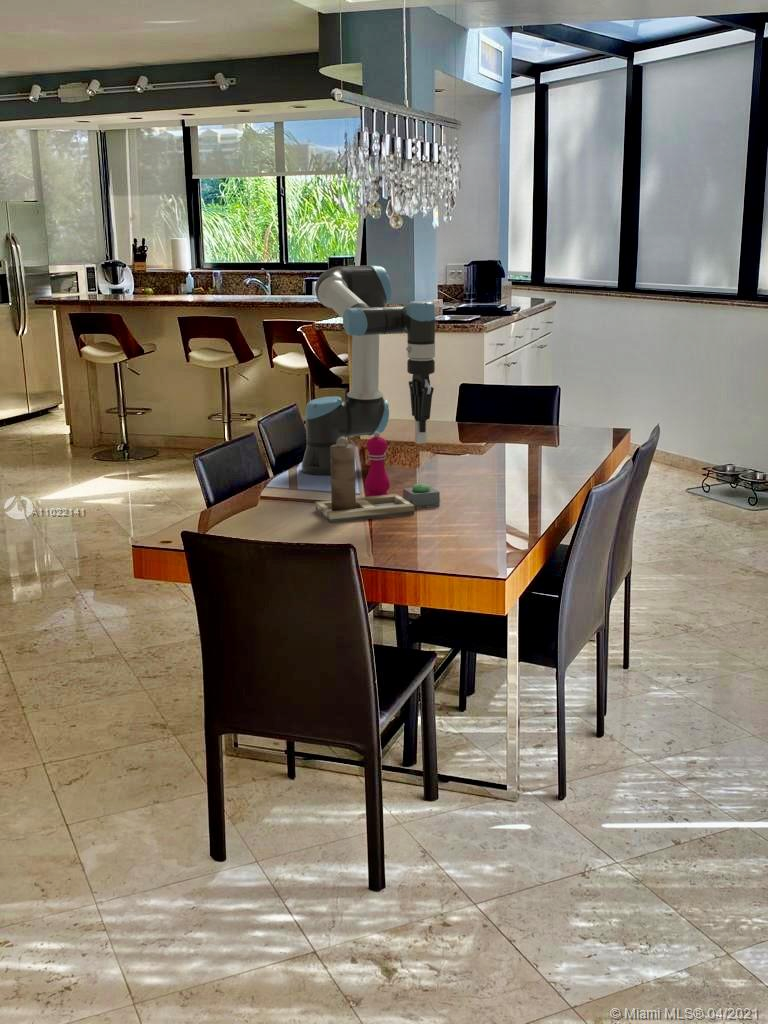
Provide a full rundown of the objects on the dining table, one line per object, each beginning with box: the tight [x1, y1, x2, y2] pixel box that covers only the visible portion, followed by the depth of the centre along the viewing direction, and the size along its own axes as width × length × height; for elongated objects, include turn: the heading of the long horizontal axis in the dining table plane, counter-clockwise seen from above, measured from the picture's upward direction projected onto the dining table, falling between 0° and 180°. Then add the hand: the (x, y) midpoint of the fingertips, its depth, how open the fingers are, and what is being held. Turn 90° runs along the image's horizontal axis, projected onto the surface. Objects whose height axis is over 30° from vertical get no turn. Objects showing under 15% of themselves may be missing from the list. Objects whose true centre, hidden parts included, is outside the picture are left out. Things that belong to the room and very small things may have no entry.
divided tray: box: [315, 493, 415, 524], centre depth 293 cm, size 14×24×2 cm, turn 110°
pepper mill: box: [364, 432, 391, 497], centre depth 304 cm, size 7×7×20 cm
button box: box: [402, 486, 441, 509], centre depth 301 cm, size 8×8×4 cm
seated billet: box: [330, 437, 357, 511], centre depth 289 cm, size 7×7×21 cm
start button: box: [412, 483, 431, 492], centre depth 301 cm, size 5×5×4 cm
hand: (420, 442), depth 298 cm, fingers closed
